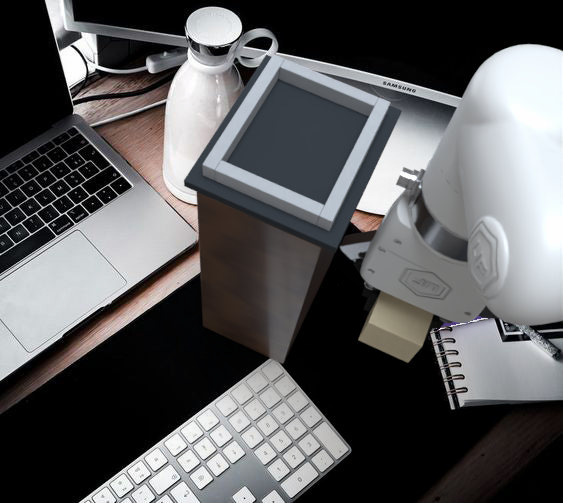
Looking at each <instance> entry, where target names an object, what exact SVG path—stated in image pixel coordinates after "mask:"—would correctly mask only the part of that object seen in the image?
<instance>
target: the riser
mask: <svg viewBox="0 0 563 503" xmlns="http://www.w3.org/2000/svg"><path fill="white" fill-rule="evenodd" d="M196 208H197V209H196V210H197V228H198V230H197V232H198V248H199V249H198V252H199V269H200V270H199V272H200V289H201V290H200V291H201V292H200V293H201V312H202V314H201V315H202V327H204V328H206V329H207V330H210V331H212V332H214V333H216V334H219V335H221V336H223V337H225V338H226V339H229V340H231V341H233V342H235V343H237V344H240V345H241V346H244V347H246V348H248V349H250V350H252V351H255V352H256V353H259V354H261V355H263V356H265V357H267V358H269V359H271V360H273V361H275V362H278V363H279V364H281V365H284V364H285V362H286V359H287V358H288V355H289V353H290V351H291V349H292V347H293V345H294V342H295V341H296V339H297V336H298V334H299V332H300V330H301V327H303V326H302V325H303V323H304V322H305V319H306V317H307V315H308V313H309V311H310V309H311V306H312V304H313V302H314V300H315V298H316V296H317V294H318V292H319V289H320V287H321V285H322V283H323V281H324V279H325V277H326V274H327V273H328V270H329V268H330V265H331V264H332V261H333V258H334V256H335V253H333V252H331V251H329V250H326V249H324V248H322V247H320V246H317V245H315V244H313V243H311V242H308V241H306V240H304V239H302V238H299V237H297V236H295V235H293V234H291V233H288V232H286V231H284V230H282V229H279V228H277V227H275V226H273V225H270V224H268V223H266V222H264V221H261V220H259V219H257V218H255V217H252V216H250V215H248V214H246V213H243V212H241V211H239V210H237V209H234V208H232V207H230V206H228V205H225V204H223V203H221V202H219V201H216V200H214V199H212V198H210V197H208V196H205V195H203V194H201V193H199V192H196Z"/></svg>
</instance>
